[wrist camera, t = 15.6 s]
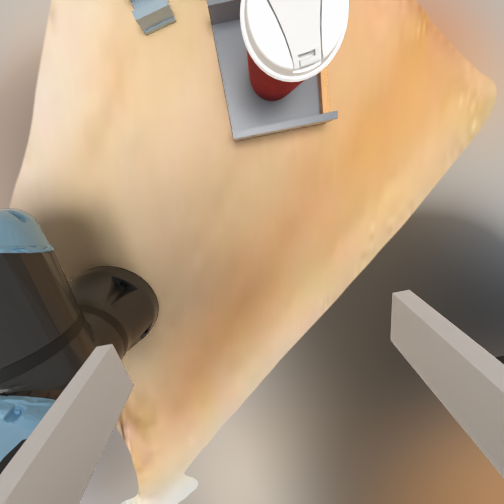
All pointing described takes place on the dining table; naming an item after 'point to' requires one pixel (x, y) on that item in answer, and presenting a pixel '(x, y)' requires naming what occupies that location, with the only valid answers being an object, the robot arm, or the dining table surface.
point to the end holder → (243, 95)
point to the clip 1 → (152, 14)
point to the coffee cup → (290, 41)
